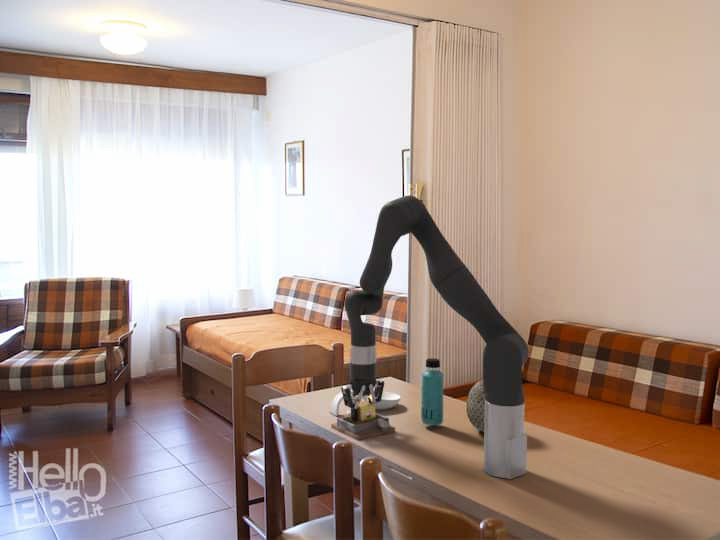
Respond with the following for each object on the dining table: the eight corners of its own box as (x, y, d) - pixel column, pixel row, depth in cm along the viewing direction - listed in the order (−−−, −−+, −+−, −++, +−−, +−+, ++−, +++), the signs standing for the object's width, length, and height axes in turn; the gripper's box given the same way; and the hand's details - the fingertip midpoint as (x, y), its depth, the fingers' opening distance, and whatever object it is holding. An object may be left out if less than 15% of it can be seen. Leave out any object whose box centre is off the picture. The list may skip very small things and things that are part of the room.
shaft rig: (397, 432, 186) (397, 419, 186) (360, 441, 179) (360, 428, 178) (365, 418, 199) (365, 406, 198) (329, 426, 191) (329, 414, 191)
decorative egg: (470, 438, 181) (471, 385, 180) (462, 425, 193) (463, 374, 191) (512, 438, 181) (514, 385, 180) (502, 424, 193) (503, 374, 192)
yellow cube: (375, 421, 188) (375, 404, 187) (361, 425, 185) (361, 407, 184) (364, 417, 192) (364, 400, 191) (350, 420, 189) (350, 403, 188)
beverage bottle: (443, 423, 194) (444, 356, 192) (443, 431, 187) (444, 361, 185) (420, 422, 194) (421, 356, 193) (420, 430, 188) (421, 361, 186)
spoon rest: (387, 400, 219) (388, 378, 218) (408, 409, 208) (408, 387, 208) (324, 410, 207) (324, 388, 206) (342, 421, 197) (342, 397, 196)
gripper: (375, 354, 194) (375, 411, 195) (334, 361, 186) (334, 420, 187) (391, 359, 188) (390, 417, 189) (350, 366, 179) (350, 427, 181)
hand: (363, 418), depth 188 cm, fingers closed on yellow cube, 5 cm apart
